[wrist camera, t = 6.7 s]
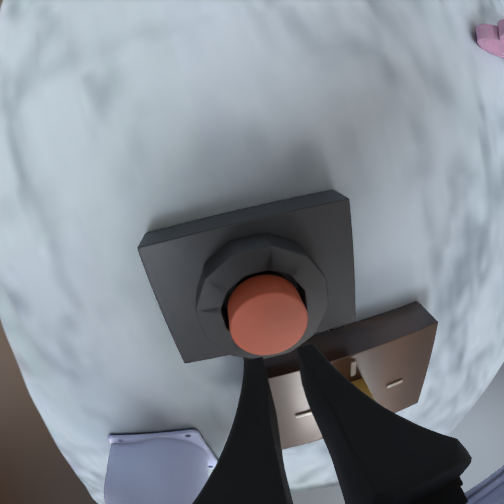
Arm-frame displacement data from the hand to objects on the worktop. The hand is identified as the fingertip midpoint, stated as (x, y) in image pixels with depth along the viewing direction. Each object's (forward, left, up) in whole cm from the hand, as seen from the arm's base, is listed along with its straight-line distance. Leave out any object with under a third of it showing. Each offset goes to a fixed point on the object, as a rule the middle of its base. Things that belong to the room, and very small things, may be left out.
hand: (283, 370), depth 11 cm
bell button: (0, 0, -5) cm, 5 cm away
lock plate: (+5, -11, -8) cm, 15 cm away
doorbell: (0, 0, -8) cm, 8 cm away
